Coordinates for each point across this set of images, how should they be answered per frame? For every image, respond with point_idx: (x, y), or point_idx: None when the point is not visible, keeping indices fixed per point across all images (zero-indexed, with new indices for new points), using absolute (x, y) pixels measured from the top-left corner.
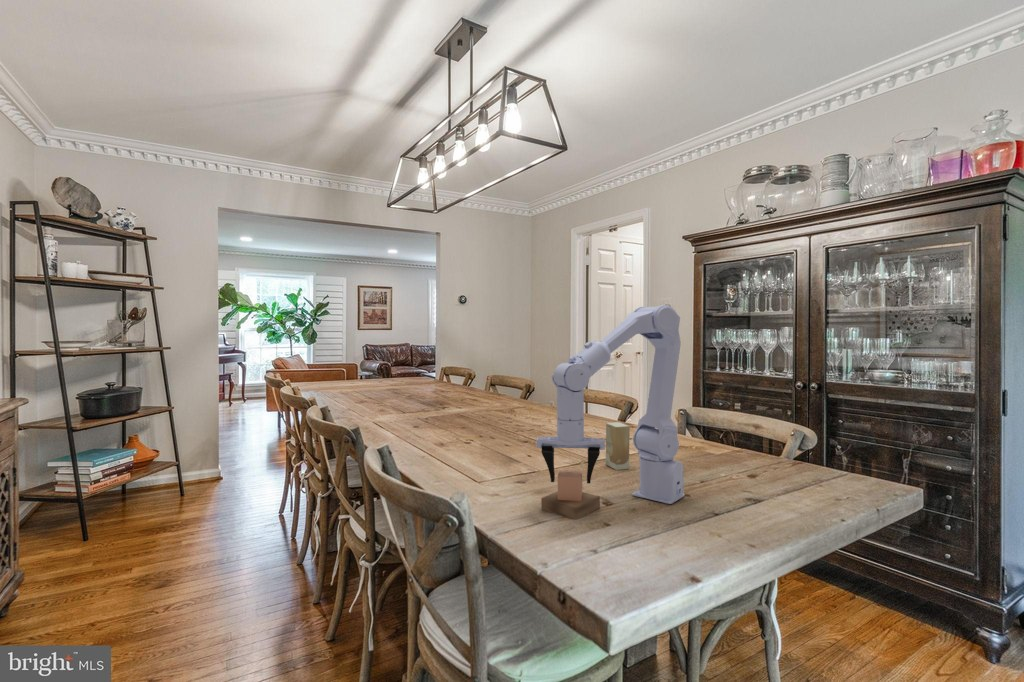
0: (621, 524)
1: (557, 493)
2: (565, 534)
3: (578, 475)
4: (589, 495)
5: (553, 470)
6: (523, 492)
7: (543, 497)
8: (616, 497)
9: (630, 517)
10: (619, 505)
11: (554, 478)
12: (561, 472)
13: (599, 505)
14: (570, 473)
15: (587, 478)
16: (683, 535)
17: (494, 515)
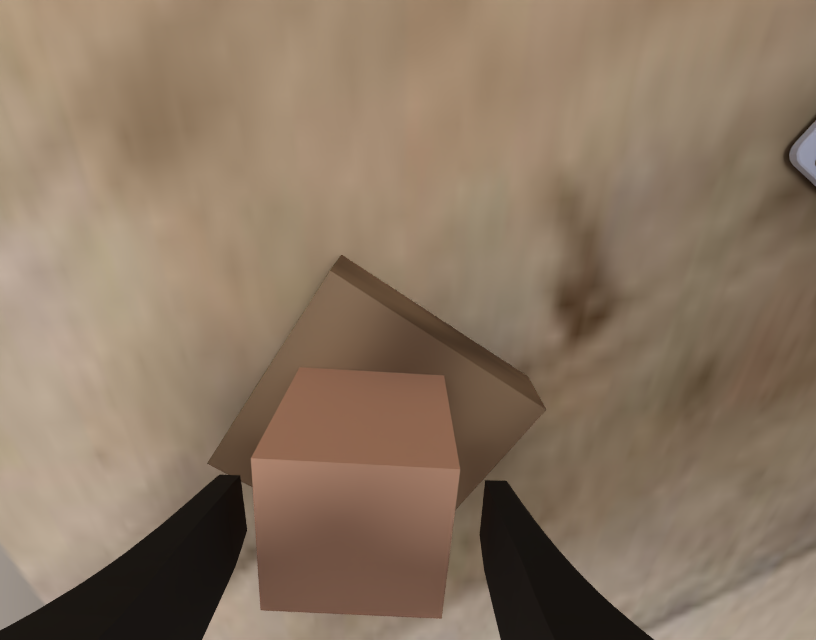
0: (588, 543)
1: (287, 383)
2: (364, 631)
3: (421, 577)
4: (485, 401)
5: (206, 611)
6: (47, 151)
7: (216, 454)
8: (666, 193)
9: (650, 475)
10: (643, 331)
11: (237, 506)
12: (277, 521)
13: (530, 384)
14: (355, 539)
15: (488, 576)
16: (792, 606)
17: (39, 506)
